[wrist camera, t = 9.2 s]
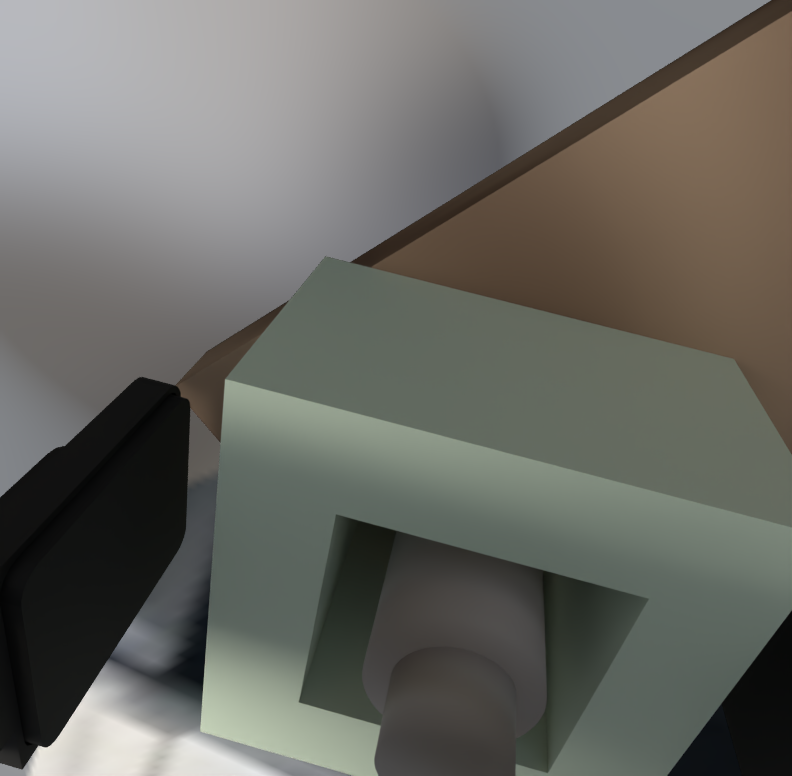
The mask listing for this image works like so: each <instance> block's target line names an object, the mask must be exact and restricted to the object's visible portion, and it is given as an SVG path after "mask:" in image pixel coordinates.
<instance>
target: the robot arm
mask: <svg viewBox="0 0 792 776" xmlns="http://www.w3.org/2000/svg"><path fill="white" fill-rule="evenodd" d="M189 426H190V402H189V400H188V399H187V398H183V397H181V392H180V389H179V388H178V387H177V386H174V385H171V384H167V383H163V382H160V381H155V380H152V379H148V378H144V377H140V378H138V379H136V380H135V381H134V382H132V383H131V384H130V385H129V386H128V387H127V388H126V389H125V390H124V391H123V392H122V393H121V394H120V395H119V396H118V397H117V398H116V399H114V401H112V402H111V403H110V404H109V405H108V406H107V407H106V408H105V409H104V410H103V411H102V412H101V413H100V414H99V415H98V416H96V417H95V418H94V419H93V420H92V421H91V422H90V423H89V424H88V425H87V426H86V427H85V428H84V429H83V430H82V431H81V432H79V434H77V435H76V436H75V437H74V438H73V439H72V440H71V441H70V442H69V443H68V444H67V445H66V446H62V447H58V448H55V449H54V450H53V451H51V452H50V453H48V454H47V455H46V456H45V457H44V458H43V459H41V460H40V461H39V462H38V463H37V464H36V465H35V466H34V467H33V468H32V469H31V470H30V471H29V472H27V473H26V474H25V475H24V476H23V477H22V478H21V479H20V480H19V481H18V482H17V483H16V484H14V485H13V486H12V487H11V488H10V489H9V490H8V491H7V492H6V493H5V494H4V495H2V496H1V497H0V763H2V764H5V765H9V766H12V767H16V768H19V769H23V768H24V766H25V765H26V763H27V762H28V760H29V759H30V757H31V756H32V754H33V753H34V751H35V750H36V748H37V747H38V745H39V746H42V747H48V746H50V745H51V744H52V743H53V742H54V741H55V740H56V739H57V737H58V736H59V734H60V733H61V731H62V730H63V728H64V727H65V725H66V724H67V722H68V721H69V719H70V717H71V716H72V714H73V713H74V711H75V710H76V708H77V707H78V705H79V704H80V702H81V700H82V699H83V697H84V696H85V694H86V693H87V691H88V690H89V688H90V686H91V685H92V683H93V682H94V680H95V679H96V677H97V676H98V674H99V672H100V671H101V669H102V668H103V666H104V665H105V663H106V662H107V660H108V659H109V657H110V655H111V654H112V652H113V651H114V649H115V648H116V646H117V645H118V643H119V641H120V640H121V638H122V637H123V635H124V634H125V632H126V631H127V629H128V628H129V626H130V624H131V623H132V621H133V620H134V618H135V617H136V615H137V614H138V612H139V610H140V609H141V607H142V606H143V604H144V603H145V601H146V600H147V598H148V597H149V595H150V593H151V592H152V590H153V589H154V587H155V586H156V584H157V583H158V581H159V579H160V578H161V576H162V575H163V573H164V572H165V570H166V569H167V567H168V565H169V564H170V562H171V561H172V559H173V558H174V556H175V555H176V553H177V551H178V550H179V548H180V546H181V543H182V541H183V538H184V534H185V530H186V510H187V483H188V454H189V428H190V427H189ZM722 706H723V710H724V714H725V717H726V721H727V724H728V728H729V731H730V735H731V738H732V742H733V745H734V749H735V752H736V756H737V759H738V763H739V766H740V770H741V773H742V776H792V611H791V612H790V613H789V615H788V616H787V617H786V619H785V620H784V621H783V623H782V624H781V625H780V627H779V628H778V629H777V631H776V632H775V633H774V634H773V636H772V637H771V638H770V640H769V641H768V642H767V644H766V645H765V646H764V648H763V649H762V650H761V652H760V653H759V654H758V656H757V657H756V658H755V660H754V661H753V662H752V664H751V665H750V666H749V668H748V669H747V670H746V672H745V673H744V674H743V676H742V677H741V678H740V680H739V681H738V682H737V684H736V685H735V686H734V687H733V689H732V690H731V691H730V693H729V694H728V695H727V697H726V698H725V699H724V701H723V702H722Z"/></svg>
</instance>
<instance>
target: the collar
mask: <svg viewBox="0 0 792 776" xmlns="http://www.w3.org/2000/svg"><path fill="white" fill-rule="evenodd" d="M396 531H400V532H403V533H407V534H411V535H415V536H418V537H422V538H426V539H429V540H433V541H437V542H440V543H444V544H448V545H452V546H455V547H459V548H463V549H466V550H470V551H474V552H478V553H481V554H485V555H489V556H492V557H496V558H500V559H503V560H507V561H511V562H515V563H518V564H522V565H526V566H529V567H533V568H537V569H541V570H543V587H544V618H545V649H546V680H547V704H546V709H545V711H544V714H543V716H542V717H541V719H540V720H539V722H538V723H537V724H536V725H535V726H534V727H533V728H532V729H531V730H529V731H528V732H527V733H526V734H524V735H522V736H520V737H518V738H516V776H667V775H668V774H669V772H670V771H671V770H672V768H673V767H674V766H675V764H676V763H677V762H678V760H679V759H680V758H681V756H682V755H683V754H684V752H685V751H686V750H687V748H688V747H689V746H690V744H691V743H692V742H693V740H694V739H695V738H696V736H697V735H698V734H699V733H700V731H701V730H702V729H703V727H704V726H705V725H706V723H707V722H708V721H709V719H710V718H711V717H712V715H713V714H714V713H715V711H716V710H717V709H718V707H719V706H720V705H721V703H722V702H723V701H724V699H725V698H726V697H727V695H728V694H729V693H730V691H731V690H732V689H733V687H734V686H735V685H736V684H737V682H738V681H739V680H740V678H741V677H742V676H743V674H744V673H745V672H746V670H747V669H748V668H749V666H750V665H751V664H752V662H753V661H754V660H755V658H756V657H757V656H758V654H759V653H760V652H761V650H762V649H763V648H764V646H765V645H766V644H767V642H768V641H769V640H770V638H771V637H772V636H773V634H774V633H775V632H776V631H777V629H778V628H779V627H780V625H781V624H782V623H783V621H784V620H785V619H786V617H787V616H788V615H789V613H790V612H791V611H792V454H791V453H790V451H789V449H788V448H787V446H786V444H785V443H784V441H783V439H782V438H781V436H780V434H779V433H778V431H777V429H776V428H775V426H774V424H773V423H772V421H771V420H770V418H769V416H768V415H767V413H766V411H765V410H764V408H763V406H762V405H761V403H760V401H759V400H758V398H757V396H756V395H755V393H754V391H753V390H752V388H751V386H750V385H749V383H748V381H747V380H746V378H745V376H744V375H743V373H742V371H741V370H740V368H739V366H738V365H737V363H736V361H735V360H734V359H732V358H728V357H724V356H720V355H716V354H712V353H708V352H704V351H700V350H696V349H692V348H688V347H684V346H680V345H676V344H672V343H668V342H664V341H660V340H657V339H653V338H649V337H645V336H641V335H637V334H633V333H629V332H625V331H621V330H617V329H613V328H609V327H605V326H601V325H597V324H593V323H589V322H585V321H581V320H577V319H573V318H569V317H565V316H561V315H557V314H553V313H549V312H545V311H541V310H537V309H533V308H529V307H525V306H521V305H517V304H513V303H509V302H505V301H501V300H497V299H493V298H489V297H485V296H481V295H477V294H473V293H469V292H465V291H461V290H457V289H453V288H450V287H446V286H442V285H438V284H434V283H430V282H426V281H422V280H418V279H414V278H410V277H406V276H402V275H398V274H394V273H390V272H386V271H382V270H378V269H374V268H370V267H366V266H362V265H358V264H354V263H350V262H346V261H342V260H338V259H334V258H330V257H325V258H324V259H323V260H322V261H321V262H320V264H319V265H318V266H317V267H316V269H315V270H314V271H313V272H312V273H311V275H310V276H309V277H308V279H307V280H306V281H305V282H304V283H303V284H302V286H301V287H300V288H299V289H298V291H297V292H296V293H295V294H294V295H293V297H292V298H291V299H290V300H289V302H288V303H287V304H286V305H285V306H284V308H283V309H282V310H281V311H280V313H279V314H278V315H277V316H276V317H275V319H274V320H273V321H272V322H271V324H270V325H269V326H268V327H267V328H266V330H265V331H264V332H263V333H262V335H261V336H260V337H259V338H258V339H257V341H256V342H255V343H254V344H253V346H252V347H251V348H250V349H249V350H248V352H247V353H246V354H245V355H244V357H243V358H242V359H241V360H240V361H239V363H238V364H237V365H236V366H235V368H234V369H233V370H232V371H231V372H230V374H229V375H228V376H227V377H226V379H225V387H224V402H223V416H222V430H221V445H220V459H219V473H218V487H217V501H216V515H215V530H214V544H213V558H212V572H211V587H210V601H209V615H208V629H207V643H206V658H205V672H204V686H203V700H202V715H201V729H200V732H204V733H207V734H211V735H214V736H218V737H221V738H225V739H228V740H231V741H235V742H238V743H242V744H245V745H249V746H252V747H256V748H259V749H263V750H266V751H270V752H273V753H276V754H280V755H283V756H287V757H290V758H294V759H297V760H301V761H304V762H308V763H311V764H315V765H318V766H322V767H325V768H328V769H332V770H335V771H339V772H342V773H346V774H349V775H353V776H378V774H377V771H376V769H375V765H374V757H375V752H376V747H377V742H378V737H379V732H380V727H381V722H382V717H383V715H382V714H381V713H380V712H379V711H378V710H377V709H376V708H375V706H374V705H373V704H372V703H371V701H370V699H369V698H368V696H367V694H366V691H365V689H364V685H363V681H362V670H363V664H364V660H365V656H366V652H367V648H368V644H369V640H370V636H371V632H372V628H373V624H374V620H375V616H376V612H377V608H378V604H379V600H380V595H381V591H382V587H383V583H384V579H385V575H386V571H387V567H388V563H389V559H390V555H391V551H392V547H393V543H394V539H395V535H396Z"/></svg>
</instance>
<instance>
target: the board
mask: <svg viewBox="0 0 792 776" xmlns="http://www.w3.org/2000/svg"><path fill="white" fill-rule="evenodd" d="M350 263H354V264H358V265H362V266H366V267H370V268H374V269H378V270H382V271H386V272H390V273H394V274H398V275H402V276H406V277H410V278H414V279H418V280H422V281H426V282H430V283H434V284H438V285H442V286H446V287H450V288H453V289H457V290H461V291H465V292H469V293H473V294H477V295H481V296H485V297H489V298H493V299H497V300H501V301H505V302H509V303H513V304H517V305H521V306H525V307H529V308H533V309H537V310H541V311H545V312H549V313H553V314H557V315H561V316H565V317H569V318H573V319H577V320H581V321H585V322H589V323H593V324H597V325H601V326H605V327H609V328H613V329H617V330H621V331H625V332H629V333H633V334H637V335H641V336H645V337H649V338H653V339H657V340H660V341H664V342H668V343H672V344H676V345H680V346H684V347H688V348H692V349H696V350H700V351H704V352H708V353H712V354H716V355H720V356H724V357H728V358H732V359H734V360H735V361H736V363H737V365H738V366H739V368H740V370H741V371H742V373H743V375H744V376H745V378H746V380H747V381H748V383H749V385H750V386H751V388H752V390H753V391H754V393H755V395H756V396H757V398H758V400H759V401H760V403H761V405H762V406H763V408H764V410H765V411H766V413H767V415H768V416H769V418H770V420H771V421H772V423H773V424H774V426H775V428H776V429H777V431H778V433H779V434H780V436H781V438H782V439H783V441H784V443H785V444H786V446H787V448H788V449H789V451H790V453H791V454H792V0H771V1H770V2H768V3H766V4H765V5H763V6H762V7H760V8H758V9H757V10H755V11H754V12H752V13H750V14H749V15H747V16H745V17H744V18H742V19H741V20H739V21H737V22H736V23H734V24H733V25H731V26H729V27H728V28H726V29H725V30H723V31H722V32H720V33H718V34H717V35H715V36H713V37H712V38H710V39H709V40H707V41H706V42H704V43H702V44H701V45H699V46H697V47H696V48H694V49H692V50H691V51H689V52H688V53H686V54H684V55H683V56H682V57H680V58H678V59H676V60H675V61H673V62H672V63H670V64H668V65H667V66H665V67H664V68H662V69H660V70H659V71H657V72H655V73H654V74H652V75H651V76H649V77H647V78H646V79H644V80H643V81H641V82H639V83H638V84H636V85H635V86H633V87H631V88H630V89H628V90H627V91H625V92H623V93H622V94H620V95H618V96H617V97H615V98H614V99H612V100H610V101H609V102H607V103H606V104H604V105H602V106H601V107H599V108H598V109H596V110H594V111H593V112H591V113H590V114H588V115H586V116H585V117H583V118H582V119H580V120H578V121H577V122H575V123H573V124H572V125H570V126H569V127H567V128H565V129H564V130H562V131H561V132H559V133H557V134H556V135H554V136H553V137H551V138H549V139H548V140H546V141H545V142H543V143H541V144H540V145H538V146H537V147H535V148H533V149H532V150H530V151H529V152H527V153H526V154H524V155H522V156H520V157H519V158H517V159H516V160H514V161H512V162H511V163H509V164H508V165H506V166H504V167H503V168H501V169H500V170H498V171H496V172H495V173H493V174H491V175H490V176H488V177H487V178H485V179H483V180H482V181H480V182H479V183H477V184H475V185H474V186H472V187H471V188H469V189H467V190H466V191H464V192H463V193H461V194H460V195H458V196H456V197H454V198H453V199H451V200H450V201H448V202H446V203H445V204H443V205H442V206H440V207H438V208H437V209H435V210H434V211H432V212H431V213H429V214H427V215H426V216H424V217H422V218H421V219H419V220H418V221H416V222H414V223H413V224H411V225H409V226H408V227H406V228H405V229H403V230H401V231H400V232H398V233H397V234H395V235H394V236H392V237H390V238H389V239H387V240H385V241H384V242H382V243H381V244H379V245H377V246H376V247H374V248H373V249H371V250H369V251H368V252H366V253H364V254H363V255H361V256H360V257H358V258H357V259H355V260H353V261H352V262H350ZM288 302H289V301H287V302H286V303H284V304H282V305H281V306H279V307H278V308H276V309H274V310H273V311H271V312H270V313H268V314H266V315H265V316H263V317H262V318H260V319H258V320H257V321H255V322H254V323H252V324H250V325H249V326H247V327H246V328H244V329H242V330H241V331H239V332H237V333H236V334H234V335H233V336H231V337H229V338H228V339H226V340H225V341H223V342H221V343H220V344H218V345H217V346H215V347H213V348H212V349H210V350H208V351H207V352H206V353H205V354H204V355H203V356H202V357H201V358H200V360H199V361H198V362H197V363H196V364H195V365H194V366H193V367H192V368H191V369H190V370H189V371H188V372H187V373H186V374H185V375H184V377H183V378H182V379H181V380H180V381H179V382H178V383H177V384H176V385H175V386H177V387H178V388H179V389H180V392H181V397H183V398H187V399H188V400H189V402H190V408H191V409H192V410H193V411H194V413H195V414H196V415H197V416H198V417H199V418H200V419H201V421H202V422H203V423H204V424H205V425H206V426H207V428H208V429H209V430H210V431H211V432H212V433H213V435H214V436H215V437H216V438H217V439H218V440H219V442H220V443H221V430H222V416H223V402H224V387H225V379H226V377H227V376H228V375H229V374H230V372H231V371H232V370H233V369H234V368H235V366H236V365H237V364H238V363H239V361H240V360H241V359H242V358H243V357H244V355H245V354H246V353H247V352H248V350H249V349H250V348H251V347H252V346H253V344H254V343H255V342H256V341H257V339H258V338H259V337H260V336H261V335H262V333H263V332H264V331H265V330H266V328H267V327H268V326H269V325H270V324H271V322H272V321H273V320H274V319H275V317H276V316H277V315H278V314H279V313H280V311H281V310H282V309H283V308H284V306H285V305H286V304H287V303H288ZM362 681H363V685H364V689H365V691H366V694H367V696H368V698H369V699H370V701H371V703H372V704H373V705H374V706H375V708H376V709H377V710H378V711H379V712H380V713H381V714H382V715H383V717H382V722H381V727H380V732H379V737H378V742H377V747H376V752H375V757H374V765H375V769H376V771H377V774H378V776H516V738H518V737H520V736H522V735H524V734H526V733H527V732H528V731H529V730H531V729H532V728H533V727H534V726H535V725H536V724H537V723H538V722H539V720H540V719H541V717H542V716H543V714H544V711H545V709H546V704H547V680H546V649H545V618H544V587H543V570H541V569H537V568H533V567H529V566H526V565H522V564H518V563H515V562H511V561H507V560H503V559H500V558H496V557H492V556H489V555H485V554H481V553H478V552H474V551H470V550H466V549H463V548H459V547H455V546H452V545H448V544H444V543H440V542H437V541H433V540H429V539H426V538H422V537H418V536H415V535H411V534H407V533H403V532H400V531H396V535H395V539H394V543H393V547H392V551H391V555H390V559H389V563H388V567H387V571H386V575H385V579H384V583H383V587H382V591H381V595H380V600H379V604H378V608H377V612H376V616H375V620H374V624H373V628H372V632H371V636H370V640H369V644H368V648H367V652H366V656H365V660H364V664H363V670H362Z"/></svg>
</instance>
